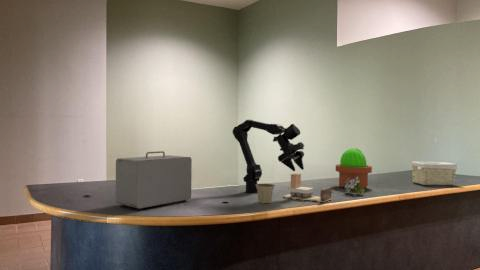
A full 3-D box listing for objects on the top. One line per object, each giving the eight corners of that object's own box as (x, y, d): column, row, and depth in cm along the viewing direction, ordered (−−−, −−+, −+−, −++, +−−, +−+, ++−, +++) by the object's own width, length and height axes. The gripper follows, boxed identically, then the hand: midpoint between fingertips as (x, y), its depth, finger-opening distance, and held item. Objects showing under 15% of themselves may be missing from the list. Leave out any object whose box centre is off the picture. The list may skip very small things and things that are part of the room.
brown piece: (289, 195, 196) (289, 174, 196) (296, 193, 202) (296, 173, 202) (307, 198, 190) (307, 176, 190) (313, 195, 197) (313, 174, 197)
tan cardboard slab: (282, 197, 197) (282, 185, 197) (291, 195, 205) (291, 183, 205) (324, 203, 184) (324, 189, 184) (331, 200, 193) (331, 187, 192)
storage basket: (442, 182, 265) (442, 161, 264) (457, 185, 248) (458, 163, 248) (410, 182, 262) (410, 161, 262) (423, 185, 246) (424, 163, 246)
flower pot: (274, 204, 179) (275, 186, 179) (255, 204, 180) (255, 186, 180) (274, 200, 189) (274, 183, 189) (255, 200, 189) (255, 183, 189)
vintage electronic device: (167, 196, 196) (167, 149, 196) (191, 201, 185) (191, 151, 184) (113, 206, 172) (113, 151, 171) (136, 212, 160) (137, 153, 160)
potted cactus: (334, 188, 230) (335, 148, 229) (336, 183, 251) (336, 146, 250) (372, 190, 223) (373, 149, 223) (370, 185, 244) (371, 147, 244)
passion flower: (347, 203, 211) (339, 184, 217) (365, 199, 213) (356, 181, 219) (353, 195, 202) (345, 175, 208) (371, 191, 204) (362, 172, 210)
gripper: (287, 136, 188) (302, 163, 184) (304, 136, 203) (318, 161, 198) (271, 148, 194) (285, 174, 189) (289, 146, 209) (302, 171, 204)
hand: (298, 170), depth 195 cm, fingers open, 9 cm apart
